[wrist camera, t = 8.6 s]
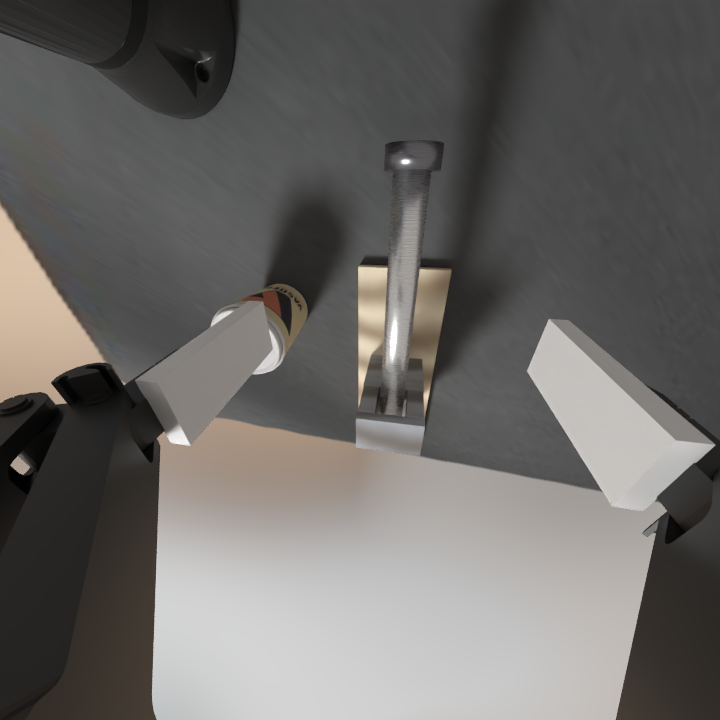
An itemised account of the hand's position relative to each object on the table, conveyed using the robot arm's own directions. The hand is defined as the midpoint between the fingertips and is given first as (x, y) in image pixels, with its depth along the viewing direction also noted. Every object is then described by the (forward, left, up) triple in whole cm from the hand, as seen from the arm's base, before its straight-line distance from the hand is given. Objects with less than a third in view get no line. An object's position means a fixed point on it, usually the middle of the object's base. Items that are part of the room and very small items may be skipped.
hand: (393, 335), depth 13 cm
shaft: (+5, 0, -17) cm, 17 cm away
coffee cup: (+10, -18, -26) cm, 33 cm away
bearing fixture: (+19, 0, -26) cm, 32 cm away
